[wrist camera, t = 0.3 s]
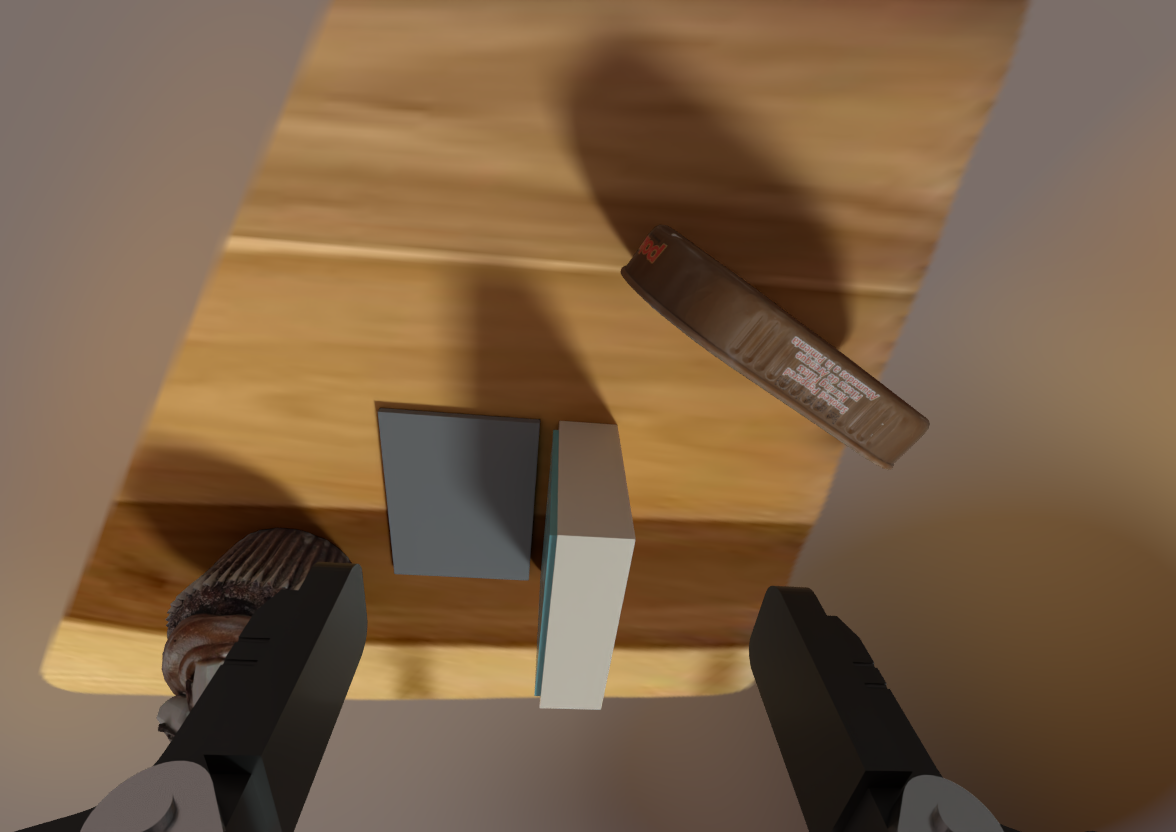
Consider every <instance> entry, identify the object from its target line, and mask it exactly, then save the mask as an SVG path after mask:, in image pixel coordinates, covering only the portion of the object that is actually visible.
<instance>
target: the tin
mask: <svg viewBox="0 0 1176 832" xmlns="http://www.w3.org/2000/svg"><path fill="white" fill-rule="evenodd" d="M621 275H622V276H623V278H624V279H625V280H626V281H627V283H628V284H629V285H630V286H631V287H632V288H633V289H634V290H635V291H636V292H637V293H638V294H639V295H640V296H641V297H642V298H643V299H644V300H645V301H646V302H647V303H649V304H650V305H651V307H652V308H654V309H655V310H656V311H657V312H659V313H660V314H661V315H662V316H663V317H665V318H666V319H667V320H668V321H670V322H671V323H672V324H673V325H675V326H676V327H677V328H679V329H680V330H681V331H682V332H683V333H685V334H686V335H687V336H688V337H690V338H691V339H692V340H694V341H695V342H696V343H698V344H699V345H701V346H702V347H703V348H705V349H706V350H707V351H709V352H710V353H711V354H713V355H714V356H715V357H717V358H719V359H720V360H721V361H723V362H724V363H726V364H727V365H728V366H730V367H731V368H733V369H734V370H736V371H737V372H739V373H740V374H742V375H743V376H745V377H746V378H748V379H749V380H751V381H752V382H754V383H755V384H757V385H758V386H760V387H761V388H763V389H764V390H765V391H767V392H768V393H770V394H771V395H773V396H774V397H776V398H777V399H779V400H780V401H782V402H783V403H785V404H786V405H788V406H789V407H791V408H792V409H794V410H795V411H797V412H798V413H800V414H801V415H802V416H804V417H806V418H807V419H808V420H810V421H811V422H813V423H814V424H816V425H817V426H819V427H820V428H822V429H823V430H825V431H826V432H827V433H829V434H830V435H832V436H834V437H835V438H837V439H838V440H840V441H841V442H842V443H844V444H845V445H847V446H848V447H850V448H851V449H852V450H854V451H856V452H857V453H858V454H860V455H862V456H863V457H864V458H866V459H867V460H869V461H871V462H872V463H874V464H876V465H878V466H880V467H882V468H884V469H887V470H891V469H892V468H893V466H894V463H895V462H896V461H897V460H898V459H899V458H900V457H901V456H902V455H903V454H904V453H905V452H906V451H907V450H908V449H909V448H910V447H911V446H913V445H914V444H915V443H916V442H917V441H918V440H919V439H920V438H921V437H922V436H923V435H924V434H925V432H926V431H927V430H928V428H929V425H930V423H929V420H928V419H927V418H926V417H924V416H923V415H922V414H920V413H919V412H918V411H916V410H915V409H914V408H913V407H911V406H910V405H909V404H907V403H906V402H905V401H904V400H902V399H901V398H900V397H898V396H897V395H896V394H894V393H893V392H892V391H891V390H889V389H888V388H887V387H885V386H884V385H883V384H882V383H880V382H879V381H878V380H876V379H875V378H874V377H872V376H871V375H870V374H868V373H867V372H866V371H865V370H863V369H862V368H861V367H859V366H858V365H857V364H856V363H854V362H853V361H852V360H850V359H849V358H848V357H846V356H845V355H844V354H842V353H841V352H840V351H838V350H837V349H836V348H834V347H833V346H832V345H830V344H829V343H828V342H826V341H825V340H824V339H822V338H821V337H819V336H818V335H817V334H815V333H814V332H813V331H811V330H810V329H809V328H807V327H806V326H804V325H803V324H802V323H800V322H799V321H797V320H796V319H795V318H793V317H792V316H791V315H789V314H788V313H787V312H785V311H784V310H783V309H781V308H780V307H779V306H778V305H776V304H775V303H774V302H772V301H771V300H770V299H768V298H767V297H766V296H764V295H763V294H762V293H760V292H759V291H758V290H756V289H755V288H754V287H752V286H751V285H750V284H748V283H747V282H746V281H744V280H743V279H741V278H740V277H739V276H737V275H736V274H735V273H733V272H732V271H730V270H729V269H728V268H726V267H725V266H723V265H722V264H721V263H719V262H718V261H716V260H715V259H714V258H712V257H711V256H709V255H708V254H707V253H705V252H704V251H703V250H701V249H700V248H698V247H697V246H696V245H694V244H693V243H692V242H690V241H689V240H687V239H686V238H685V237H683V236H682V235H681V234H679V233H678V232H676V231H675V230H673V229H672V228H670V227H669V226H666V225H658V226H656V227H655V228H654V229H653V230H652V231H651V232H650V233H649V234H648V236H647V237H646V239H645V240H644V242H643V243H642V244H641V246H640V247H639V249H638V250H637V252H636V253H635V255H634V256H633V258H632V259H631V260H630V262H629V263H628V264H627V266H624V267H622V268H621Z"/></svg>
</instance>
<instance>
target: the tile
mask: <svg viewBox="0 0 1176 832" xmlns="http://www.w3.org/2000/svg"><path fill="white" fill-rule="evenodd" d="M634 544H635V533H634V527H633V521H632V514H631V508H630V502H629V495H628V489H627V483H626V476H625V470H624V464H623V458H622V451H621V445H620V439H619V432H618V426H617V425H612V424H599V423H585V422H571V421H559V430H553V439H552V450H551V461H550V473H549V484H548V496H547V507H546V518H545V530H544V541H543V553H542V564H541V576H540V596H539V616H538V636H537V656H536V677H535V696H540V708H559V709H560V708H561V709H562V708H563V709H598V710H600V709H601V707H602V702H603V697H604V692H605V687H606V682H607V677H608V672H609V667H610V662H611V657H612V652H613V648H614V643H615V638H616V633H617V628H618V623H619V618H620V613H621V608H622V603H623V598H624V593H625V588H626V583H627V579H628V574H629V569H630V564H631V559H632V554H633V549H634Z"/></svg>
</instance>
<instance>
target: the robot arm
mask: <svg viewBox="0 0 1176 832" xmlns="http://www.w3.org/2000/svg"><path fill="white" fill-rule="evenodd" d="M366 635H367V613H366V604H365V594H364V585H363V576H362V569H361V566H360V565H359V564H350V563H330V562H317V563H315V564H314V565H313V566H312V568H311V570H310V571H309V573H308V575H307V576H306V578H305V580H304V582H303V583H302V585H301V587H300V589H299V590H282V589H281V590H280V591H279V592H278V593H277V594H275V595H274V596H273V597H272V598H270V599H269V600H268V601H267V602H266V603H264V604H263V605H262V606H261V607H260V608H258V609H257V610H256V611H255V612H254V614H253V615H252V617H251V618H250V620H249V622H248V623H247V625H246V626H245V628H244V629H243V631H242V632H241V634H240V635H239V639H238V642H235V643H234V645H233V646H232V648H231V649H230V651H229V653H228V654H227V656H226V657H225V659H224V663H223V665H220V666H219V668H218V670H217V671H216V673H215V674H214V676H213V677H212V679H211V680H210V682H209V683H208V685H207V687H206V688H205V690H204V691H203V693H202V694H201V696H200V697H199V699H198V701H197V702H196V704H195V705H194V707H193V708H192V710H191V711H190V713H189V714H188V716H187V718H186V719H185V721H184V722H183V724H182V725H181V727H180V728H179V730H178V732H177V733H176V735H175V736H174V738H173V739H172V741H171V743H170V744H169V746H168V747H167V749H166V750H165V751H164V753H163V754H162V756H161V757H160V758H159V760H158V761H157V762H156V763H155V764H154V765H153V766H152V767H150V768H148V769H145V770H143V771H141V772H139V773H137V774H136V775H134V776H132V777H130V778H129V779H127V780H126V781H124V782H123V783H121V784H120V785H118V786H117V787H116V788H115V789H114V790H112V791H111V792H110V793H109V794H108V795H107V796H106V797H105V798H104V799H103V800H102V801H101V802H100V803H99V804H98V805H97V806H96V807H93V808H91V809H89V810H86V811H83V812H80V813H77V814H74V815H71V816H67V817H64V818H60V819H57V820H53V821H50V822H46V823H43V824H39V825H36V826H32V827H29V828H25V829H22V830H18V831H15V832H294V830H295V827H296V824H297V822H298V819H299V817H300V814H301V811H302V809H303V806H304V803H305V801H306V798H307V796H308V793H309V791H310V788H311V785H312V783H313V780H314V778H315V775H316V772H317V770H318V767H319V765H320V762H321V760H322V757H323V754H324V752H325V749H326V746H327V744H328V741H329V739H330V736H331V734H332V731H333V728H334V726H335V723H336V720H337V718H338V715H339V713H340V710H341V708H342V705H343V703H344V700H345V697H346V695H347V692H348V690H349V687H350V684H351V682H352V679H353V677H354V674H355V671H356V669H357V666H358V664H359V661H360V658H361V656H362V653H363V649H364V645H365V641H366ZM749 658H750V665H751V669H752V672H753V675H754V678H755V681H756V683H757V686H758V689H759V692H760V695H761V698H762V700H763V703H764V706H765V709H766V712H767V714H768V717H769V720H770V723H771V725H772V728H773V731H774V734H775V737H776V740H777V742H778V745H779V748H780V751H781V754H782V757H783V759H784V762H785V765H786V768H787V771H788V773H789V776H790V779H791V782H792V784H793V788H794V790H795V793H796V796H797V798H798V802H799V804H800V807H801V810H802V813H803V816H804V818H805V821H806V824H807V827H808V830H809V832H1020V831H1017V830H1015V829H1012V828H1009V827H1006V826H1003V825H1002V824H999V823H998V821H997V820H996V819H995V817H994V816H993V815H992V813H991V812H990V811H989V810H988V809H987V808H986V807H985V806H984V805H983V804H982V803H981V802H980V801H979V800H978V799H977V798H976V797H974V796H973V795H972V794H971V793H969V792H968V791H967V790H965V789H964V788H962V787H961V786H959V785H957V784H955V783H953V782H951V781H949V780H947V779H944V778H943V777H942V776H941V774H940V772H939V771H938V770H937V768H936V766H935V765H934V763H933V761H932V760H931V758H930V756H929V754H928V753H927V751H926V749H925V748H924V746H923V744H922V743H921V741H920V739H919V738H918V736H917V734H916V733H915V731H914V729H913V727H912V726H911V724H910V722H909V721H908V719H907V717H906V716H905V714H904V712H903V711H902V709H901V707H900V705H899V704H898V702H897V701H896V699H895V697H894V695H893V694H892V692H891V690H890V689H887V687H886V682H885V680H884V678H883V677H882V675H881V673H880V672H879V670H878V669H877V668H875V667H874V662H873V660H872V658H871V657H870V655H869V653H868V652H867V650H866V648H865V646H864V645H863V643H862V641H861V640H860V638H859V637H858V636H857V635H856V634H855V633H854V632H853V631H852V630H851V629H850V628H849V627H848V626H846V624H845V623H843V622H842V621H841V620H840V619H839V618H838V617H837V616H827V615H826V613H825V612H824V609H823V608H822V606H821V604H820V602H819V601H818V599H817V597H816V595H815V594H814V592H813V591H812V590H811V589H810V588H806V587H805V588H804V587H786V586H770V587H769V588H768V589H767V591H766V594H765V597H764V599H763V602H762V605H761V608H760V611H759V614H758V617H757V620H756V623H755V626H754V629H753V632H752V635H751V638H750V643H749ZM1087 832H1089V831H1087ZM1090 832H1095V831H1090Z"/></svg>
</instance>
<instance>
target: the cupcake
mask: <svg viewBox="0 0 1176 832" xmlns="http://www.w3.org/2000/svg"><path fill="white" fill-rule="evenodd" d="M317 562H330V563H350V564H352V563H351V562H350V560H349V558H348V557H347V556H346V555H345V554H344V553H343V552H342V551H341V550H340V549H339V548H337V547H336V546H334V545H333V544H331V543H330V542H329V541H328V540H326V539H322V538H319V537H317V536H315V535H313V534H311V533H308V532H305V531H301V530H296V529H285V528H273V529H265V530H259V531H257V532H254V533H250V534H249V535H248V536H246V537H245V538H244V539H242V540H241V541H239V542H237V543H236V544H235V545H234V546H233V547H232V548H231V549H230V550H228V551H227V552H226V553H225V554H224V555H223V556H222V557H221V558H220V559H219V560H218V561H217V562H216V563H215V564H214V565H213V566H212V567H211V568H210V569H209V570H208V571H206V572H205V573H204V574H203V575H202V576H201V577H199V578H198V579H197V580H196V581H194V582H193V583H192V584H191V585H189V586H188V587H187V588H186V589H185V590H184V591H182V592H181V593H180V594H179V595H178V596H177V597H176V600H175V601H173V602H172V603H171V608H170V609H169V611H168V612H167V613H171V614H170V615H169V616H168V617H167V619H166V620H167V621H169V623H168V624H167V625H166V626H167V627H168V631H167V639H168V640H167V642H166V644H165V647H164V652H163V662H162V672H163V676H164V679H165V681H166V683H167V684H168V686H169V687H170V689H171V690H172V692H173V693H174V694H175V695H176V696H174V697H172V698H170V699H169V700H167V701H166V702H165V703H164V704H163V705H162V706H161V707H160V709H159V712H158V715H157V720H158V721H159V722H160V724H159V727H158V731H160V732H164V733H165V734H166V735H167V737H168V739H169V740H170V741H172V739H173V738H174V736H175V735H176V733H177V732H178V730H179V728H180V727H181V725H182V724H183V722H184V721H185V719H186V718H187V716H188V714H189V713H190V711H191V710H192V708H193V707H194V705H195V704H196V702H197V701H198V699H199V697H200V696H201V694H202V693H203V691H204V690H205V688H206V687H207V685H208V683H209V682H210V680H211V679H212V677H213V676H214V674H215V673H216V671H217V670H218V668H219V666H220V665H223V663H224V659H225V657H226V656H227V654H228V653H229V651H230V649H231V648H232V646H233V645H234V643H235V642H238V639H239V635H240V634H241V632H242V631H243V629H244V628H245V626H246V625H247V623H248V622H249V620H250V618H251V617H252V615H253V614H254V612H255V611H256V610H257V609H258V608H260V607H261V606H262V605H263V604H264V603H266V602H267V601H268V600H269V599H270V598H272V597H273V596H274V595H275V594H277V593H278V592H279V591H280V590H281V589H282V590H299V589H300V587H301V585H302V583H303V582H304V580H305V578H306V576H307V575H308V573H309V571H310V570H311V568H312V566H313V565H314V564H315V563H317Z"/></svg>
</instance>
